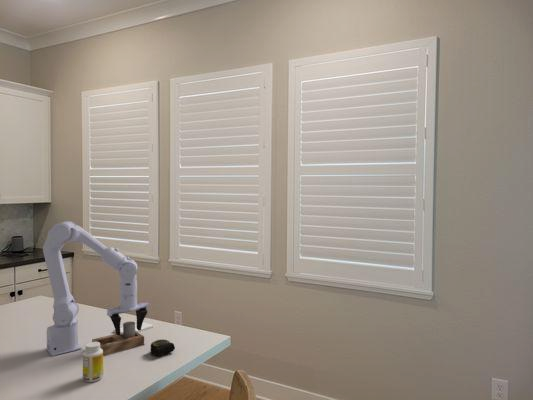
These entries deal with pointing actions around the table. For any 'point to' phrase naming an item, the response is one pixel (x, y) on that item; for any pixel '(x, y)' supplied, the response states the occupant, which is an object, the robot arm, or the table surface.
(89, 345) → the supplement bottle
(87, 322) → the table surface
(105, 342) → the box
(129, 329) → the plug
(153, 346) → the tape measure
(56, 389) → the table surface
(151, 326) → the external hard drive
